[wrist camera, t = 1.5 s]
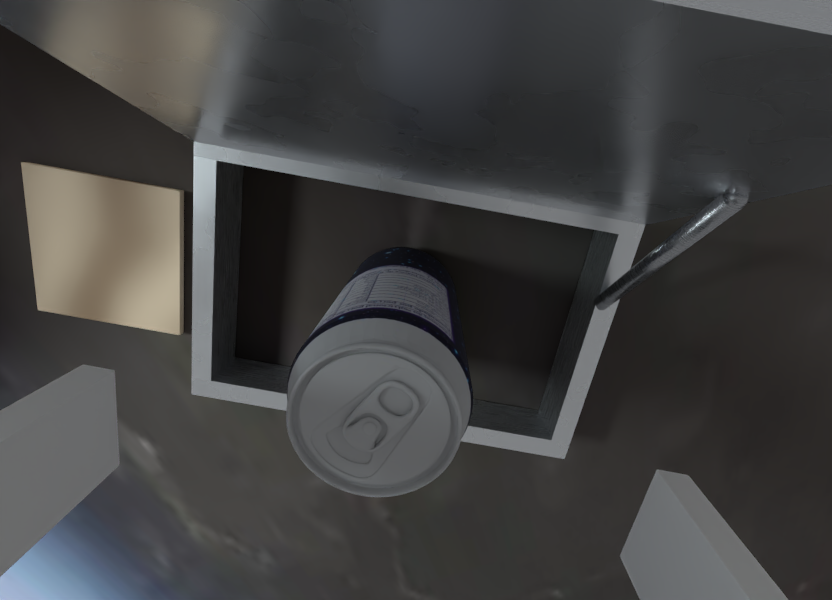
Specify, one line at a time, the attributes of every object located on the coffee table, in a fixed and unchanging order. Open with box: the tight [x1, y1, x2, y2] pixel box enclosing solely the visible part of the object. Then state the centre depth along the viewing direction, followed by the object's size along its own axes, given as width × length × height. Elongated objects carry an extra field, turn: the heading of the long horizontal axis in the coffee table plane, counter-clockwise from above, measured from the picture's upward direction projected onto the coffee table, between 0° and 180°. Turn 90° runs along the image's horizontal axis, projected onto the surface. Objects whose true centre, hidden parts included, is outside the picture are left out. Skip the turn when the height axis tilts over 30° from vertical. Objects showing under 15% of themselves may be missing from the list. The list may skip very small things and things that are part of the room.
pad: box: [21, 162, 184, 335], centre depth 23 cm, size 8×8×1 cm
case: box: [0, 0, 832, 459], centre depth 15 cm, size 20×17×16 cm
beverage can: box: [286, 247, 473, 497], centre depth 17 cm, size 6×6×12 cm
